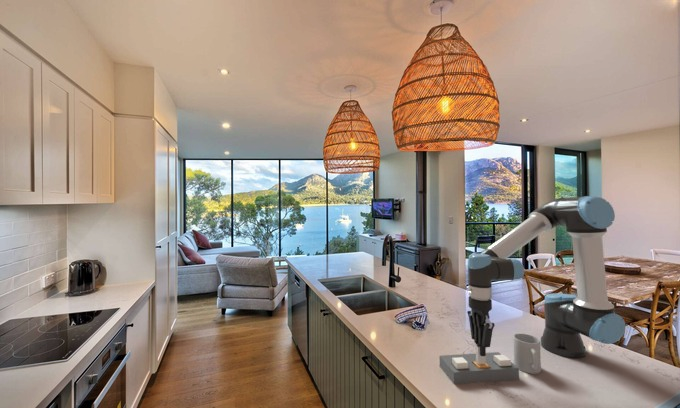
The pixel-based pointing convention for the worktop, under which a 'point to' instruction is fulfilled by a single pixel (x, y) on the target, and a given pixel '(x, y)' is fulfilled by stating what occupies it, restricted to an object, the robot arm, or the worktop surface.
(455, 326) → the worktop surface
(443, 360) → the grey button panel
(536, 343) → the mug
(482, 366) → the button orange
